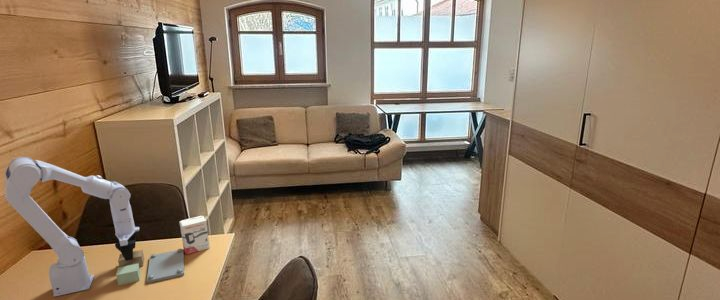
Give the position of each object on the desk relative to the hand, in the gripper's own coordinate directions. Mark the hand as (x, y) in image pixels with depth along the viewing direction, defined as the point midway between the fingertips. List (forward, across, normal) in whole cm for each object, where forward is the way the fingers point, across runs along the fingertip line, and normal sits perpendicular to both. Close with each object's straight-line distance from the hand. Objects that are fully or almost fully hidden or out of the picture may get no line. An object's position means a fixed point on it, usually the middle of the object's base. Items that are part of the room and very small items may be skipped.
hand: (130, 253), depth 136 cm
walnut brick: (+4, 0, 0) cm, 4 cm away
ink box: (+5, +2, -21) cm, 21 cm away
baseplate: (+4, -6, -11) cm, 13 cm away
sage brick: (+4, -9, 0) cm, 10 cm away
